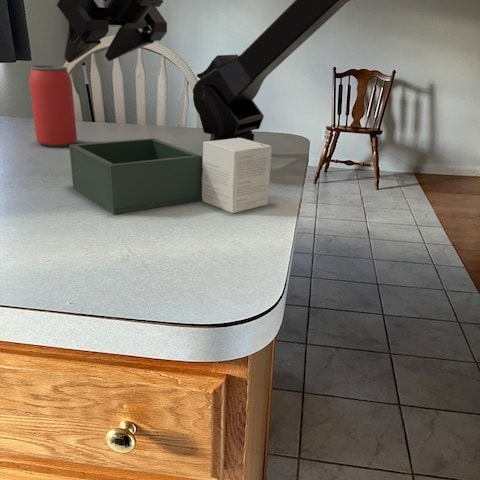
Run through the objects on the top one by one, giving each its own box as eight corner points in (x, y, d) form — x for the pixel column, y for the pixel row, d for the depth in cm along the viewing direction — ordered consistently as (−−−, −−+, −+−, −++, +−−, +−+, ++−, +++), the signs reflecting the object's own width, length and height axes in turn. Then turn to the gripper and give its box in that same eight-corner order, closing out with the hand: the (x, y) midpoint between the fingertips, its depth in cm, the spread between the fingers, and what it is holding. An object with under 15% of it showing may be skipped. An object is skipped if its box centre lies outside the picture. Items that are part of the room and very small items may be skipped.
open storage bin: (201, 200, 68) (202, 156, 66) (113, 214, 62) (110, 165, 59) (155, 178, 77) (154, 137, 74) (73, 188, 70) (68, 144, 67)
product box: (237, 194, 72) (240, 136, 68) (269, 205, 68) (274, 145, 64) (200, 201, 68) (201, 141, 64) (232, 214, 64) (235, 150, 61)
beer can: (70, 148, 90) (63, 69, 84) (31, 146, 90) (20, 67, 84) (81, 141, 96) (75, 66, 90) (44, 138, 96) (35, 64, 90)
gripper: (149, -64, 81) (96, 16, 90) (60, -87, 66) (7, 12, 75) (194, 0, 82) (136, 73, 91) (115, -9, 67) (56, 79, 76)
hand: (88, 59), depth 83 cm, fingers open, 9 cm apart
